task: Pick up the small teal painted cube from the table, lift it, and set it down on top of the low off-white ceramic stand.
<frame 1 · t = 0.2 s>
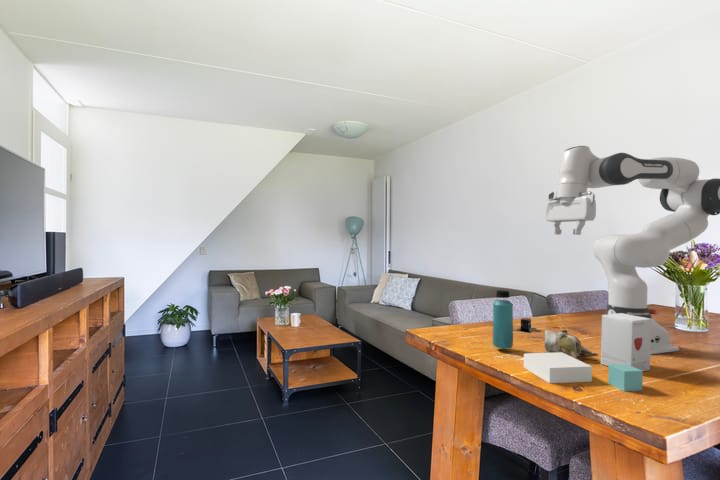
hand: (566, 234, 128), 39 cm above the table, fingers open, 8 cm apart
beverage bottle: (502, 350, 126), on the table
black boxy piece: (525, 331, 154), on the table
supplement box: (625, 367, 110), on the table
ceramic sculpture: (565, 357, 120), on the table
stand: (556, 374, 104), on the table
cube: (624, 387, 96), on the table
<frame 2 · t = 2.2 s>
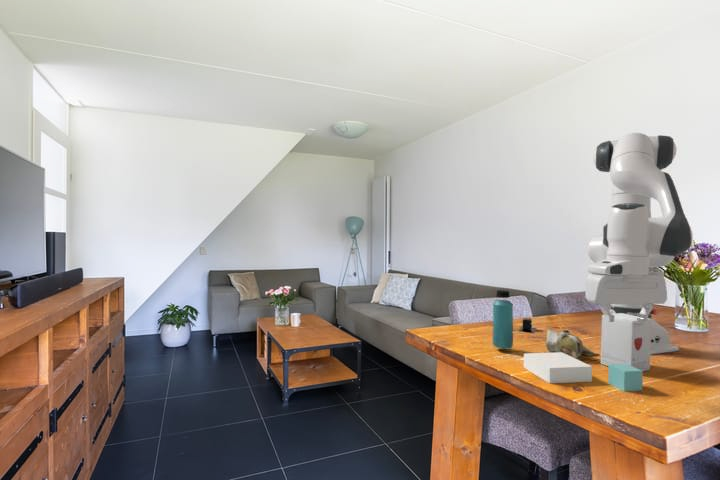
hand: (625, 321, 96), 17 cm above the table, fingers open, 8 cm apart
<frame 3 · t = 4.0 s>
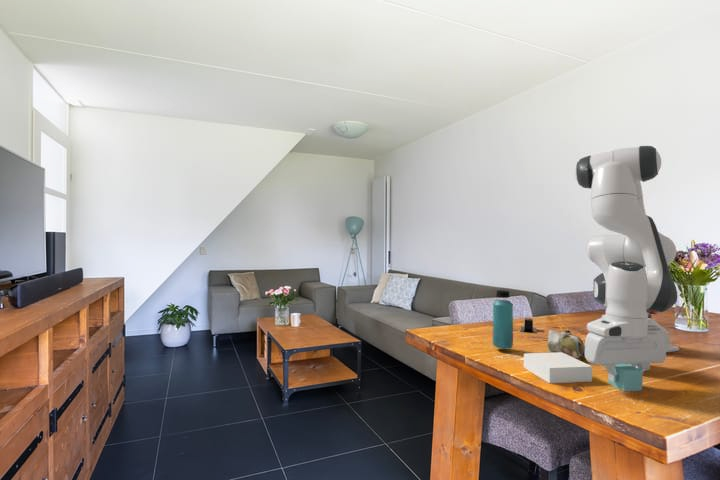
hand: (624, 380, 96), 2 cm above the table, fingers closed on cube, 5 cm apart
cube: (624, 386, 96), on the table, touching gripper
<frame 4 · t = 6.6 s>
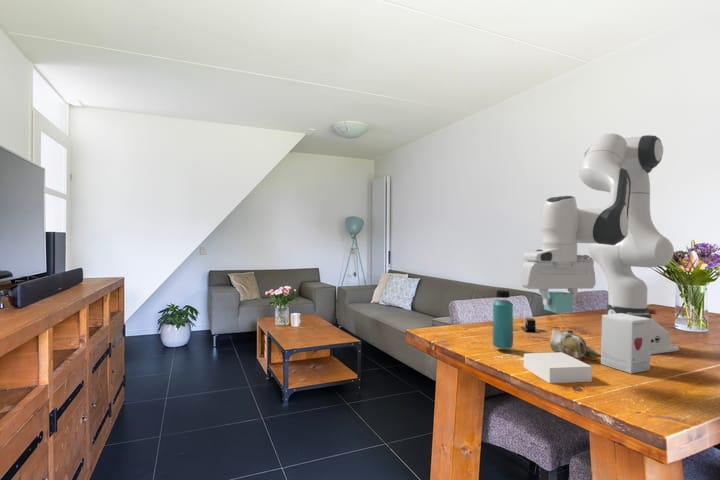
hand: (557, 304, 104), 19 cm above the table, fingers closed on cube, 5 cm apart
cube: (557, 310, 104), point 18 cm above the table, touching gripper
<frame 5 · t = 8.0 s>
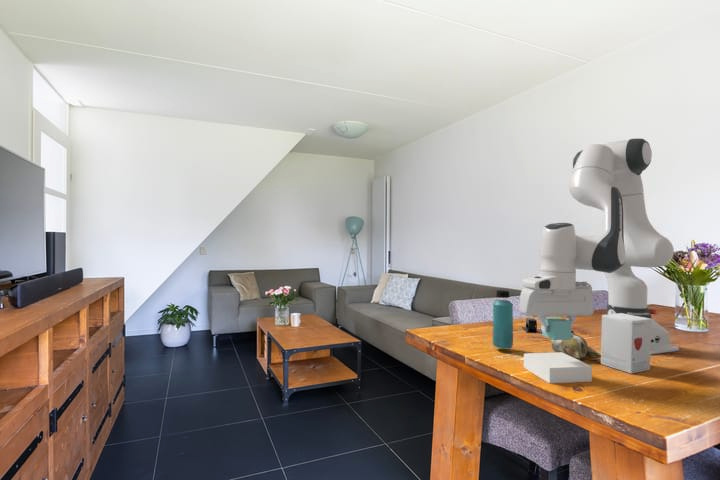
hand: (556, 331, 104), 12 cm above the table, fingers closed on cube, 5 cm apart
cube: (556, 337, 104), point 10 cm above the table, touching gripper
when the fingers open (7 cm above the table, at t = 9.3 s): cube drops 1 cm, resting on stand.
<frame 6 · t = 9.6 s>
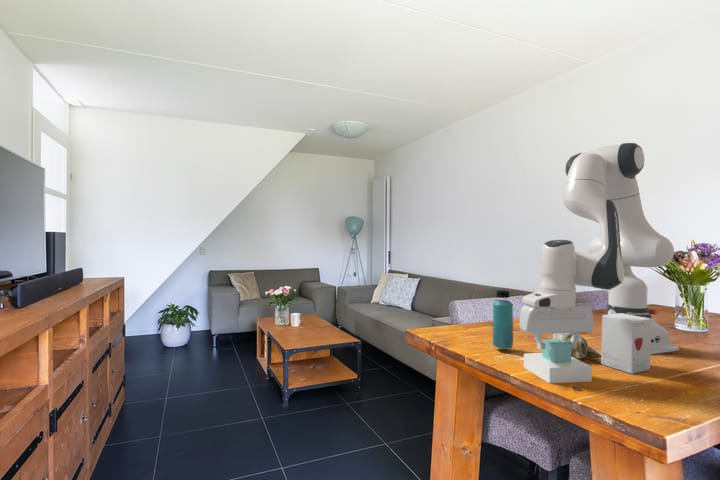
hand: (556, 348, 104), 7 cm above the table, fingers open, 8 cm apart
cube: (556, 359, 104), point 4 cm above the table, touching stand
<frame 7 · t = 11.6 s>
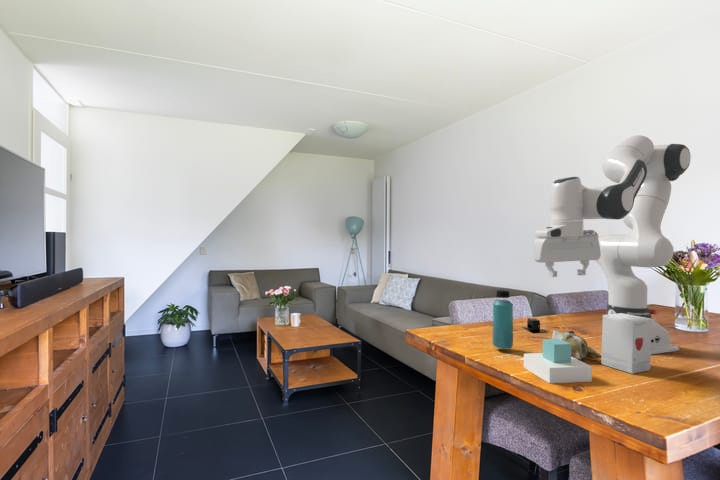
hand: (567, 276, 115), 26 cm above the table, fingers open, 8 cm apart
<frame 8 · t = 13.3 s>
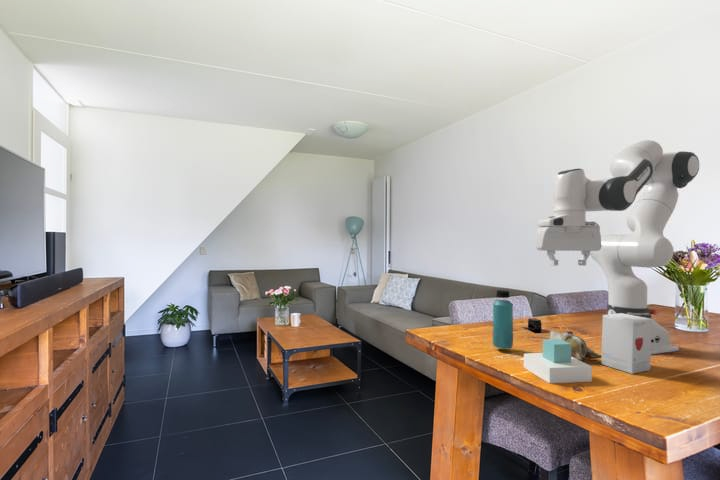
hand: (568, 265, 117), 29 cm above the table, fingers open, 8 cm apart
at the end: cube inside the target area on the stand (0.1 cm from its centre), point 4.0 cm above the stand's base; cube tilted 0°; the gripper is holding nothing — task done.
